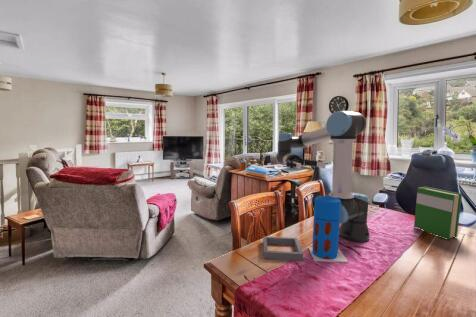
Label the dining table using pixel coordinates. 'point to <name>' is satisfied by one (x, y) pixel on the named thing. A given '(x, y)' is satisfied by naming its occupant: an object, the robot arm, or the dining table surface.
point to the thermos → (326, 227)
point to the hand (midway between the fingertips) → (312, 166)
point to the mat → (339, 258)
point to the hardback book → (438, 211)
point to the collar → (281, 254)
